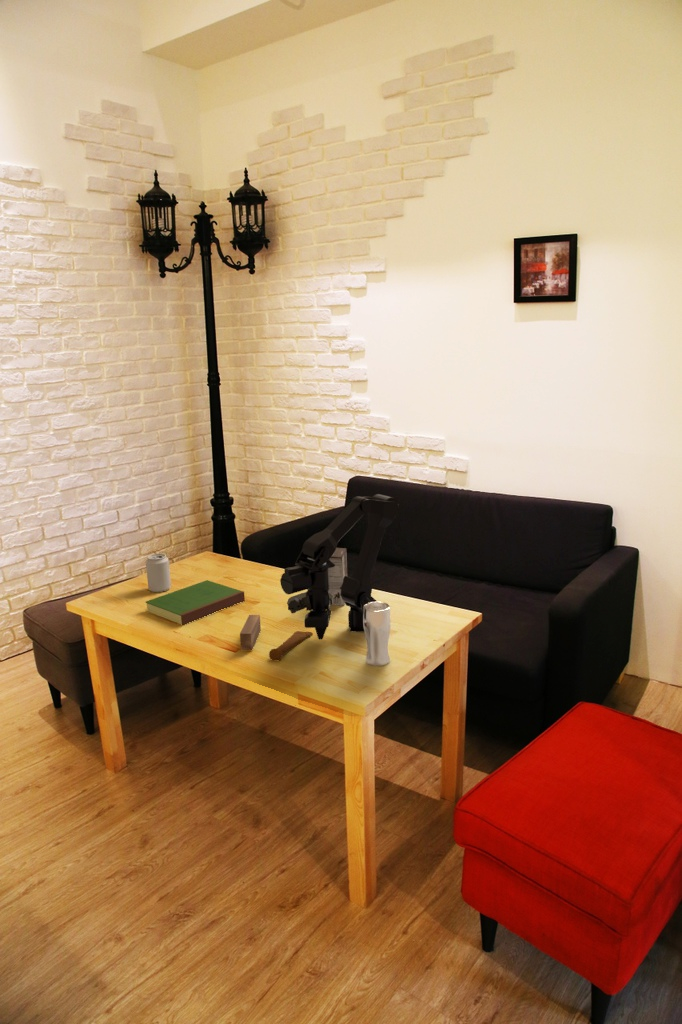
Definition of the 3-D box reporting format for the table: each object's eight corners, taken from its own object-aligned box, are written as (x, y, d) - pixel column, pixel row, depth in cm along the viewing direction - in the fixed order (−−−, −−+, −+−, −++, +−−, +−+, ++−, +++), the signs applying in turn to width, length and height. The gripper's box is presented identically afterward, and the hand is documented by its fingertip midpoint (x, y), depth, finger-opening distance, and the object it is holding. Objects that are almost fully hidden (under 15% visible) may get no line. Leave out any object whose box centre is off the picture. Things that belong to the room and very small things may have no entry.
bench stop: (260, 631, 203) (259, 614, 202) (252, 650, 191) (250, 633, 189) (250, 631, 203) (249, 614, 202) (241, 650, 191) (239, 633, 190)
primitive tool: (296, 632, 202) (296, 621, 202) (314, 634, 201) (314, 623, 200) (267, 661, 185) (267, 649, 184) (287, 664, 183) (286, 652, 182)
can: (175, 588, 240) (172, 554, 238) (157, 594, 235) (153, 560, 232) (162, 584, 245) (159, 551, 242) (144, 590, 240) (140, 556, 237)
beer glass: (386, 668, 178) (385, 612, 174) (360, 664, 180) (358, 609, 177) (395, 657, 184) (394, 602, 180) (370, 653, 187) (368, 599, 183)
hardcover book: (183, 627, 209) (181, 615, 208) (146, 612, 221) (145, 601, 220) (246, 602, 227) (245, 591, 226) (209, 590, 239) (208, 579, 239)
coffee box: (329, 594, 230) (327, 547, 226) (348, 595, 229) (347, 547, 225) (324, 605, 221) (321, 555, 217) (344, 605, 220) (342, 556, 216)
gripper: (292, 574, 200) (295, 625, 203) (283, 597, 182) (286, 653, 185) (332, 573, 199) (334, 625, 203) (326, 597, 181) (329, 653, 185)
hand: (320, 639), depth 194 cm, fingers closed
